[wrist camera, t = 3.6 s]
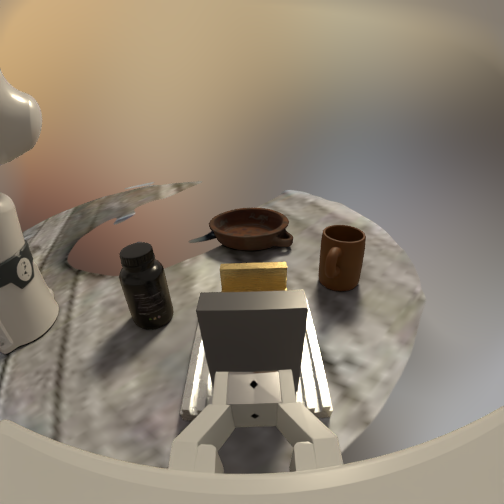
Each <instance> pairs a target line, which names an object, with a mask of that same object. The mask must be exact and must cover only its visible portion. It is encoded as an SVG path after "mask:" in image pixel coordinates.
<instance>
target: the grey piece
mask: <svg viewBox="0 0 504 504" xmlns="http://www.w3.org/2000/svg"><path fill="white" fill-rule="evenodd" d="M220 276H221V285H222V292H257V291H286V290H287V288H286V281H287V265H286V262H268V263H234V264H221V266H220ZM306 300H307V299H306ZM307 304H308V302H307ZM295 394H296V401H297V402H301V403H302V404H303V405H304V406H305V407H306V408H307V409H308V410H309V411H310V412H311V413H313V414H314V415H315V416H316V417H317V418H326V417H330V416H331V414H332V411H333V409H332V404H331V400H330V395H329V390H328V386H327V381H326V377H325V372H324V368H323V364H322V359H321V355H320V351H319V347H318V342H317V338H316V334H315V330H314V326H313V322H312V318H311V314H310V310H309V306H308V316H307V325H306V334H305V342H304V350H303V358H302V365H301V372H300V379H299V386H298V392H295ZM212 398H213V387H212V383H211V378H210V374H209V370H208V365H207V361H206V356H205V352H204V347H203V342H202V337H201V332H200V328H199V322H198V326H197V331H196V336H195V340H194V345H193V350H192V354H191V359H190V364H189V369H188V374H187V379H186V384H185V389H184V394H183V400H182V405H181V410H180V415H181V417H182V419H183V420H188V421H193V420H194V419H195V418H196V417H197V416H198V415H199V414H200V413H201V412H202V410H203V409H204V408H205V407H206V406H207V405H208V404H212Z"/></svg>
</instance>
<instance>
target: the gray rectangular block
mask: <svg viewBox="0 0 504 504" xmlns="http://www.w3.org/2000/svg"><path fill="white" fill-rule="evenodd" d="M196 312H197V317H198V322H199V328H200V332H201V337H202V342H203V347H204V352H205V356H206V361H207V365H208V370H209V374H210V378H211V383H212V387H213V388H214V379H215V373H216V372H254V371H271V370H278V371H279V370H290V369H291V370H292V374H293V381H294V387H295V392H298V386H299V379H300V372H301V365H302V358H303V350H304V342H305V334H306V325H307V316H308V304H307V300H306V296H305V292H304V290H286V291H257V292H209V293H200V297H199V301H198V305H197V309H196Z"/></svg>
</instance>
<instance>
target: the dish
mask: <svg viewBox="0 0 504 504" xmlns="http://www.w3.org/2000/svg"><path fill="white" fill-rule="evenodd" d="M288 224H289V221H288V219H287V217H286V216H285V215H283V214H281V213H279V212H277V211H274V210H270V209H265V208H241V209H235V210H231V211H227V212H224V213H221V214H219V215H217V216H215V217H214V218H212V220H211V221H210V223H209V227H210V229H211V230H212V231H214V234H215V236H216V238H217V240H218V241H219V242H220V243H221V244H223V245H224V246H226V247H229V248H233V249H237V250H250V251H253V250H262V249H267V248H270V247H273V246H278V247H289V246H291V245H292V243H293V236H292V235H291V234H290V233H288V232H287V231H286V229H285V228H286V227H287V226H288Z"/></svg>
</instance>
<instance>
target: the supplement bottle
mask: <svg viewBox="0 0 504 504" xmlns="http://www.w3.org/2000/svg"><path fill="white" fill-rule="evenodd" d="M120 259H121V264H122V267H123V268H122V269H121V272H120V275H119V279H120V283H121V286H122V289H123V292H124V295H125V298H126V301H127V304H128V307H129V310H130V313H131V315H132V318H133V320H134V322H135V324H136V325H137V326H139V327H141V328H143V329H157V328H160V327H162V326H164V325H165V324H167V323H168V322H169V321H170V320H171V318H172V316H173V306H172V302H171V298H170V294H169V289H168V285H167V281H166V276H165V272H164V268H163V266H162V264H161V263H160V262H159V261H158V260H156V259H155V255H154V253H153V249H152V246H151V245H150V244H148V243H145V242H140V243H134V244H131V245H128V246H127V247H125V248H123V249H122V250H121V252H120Z"/></svg>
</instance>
